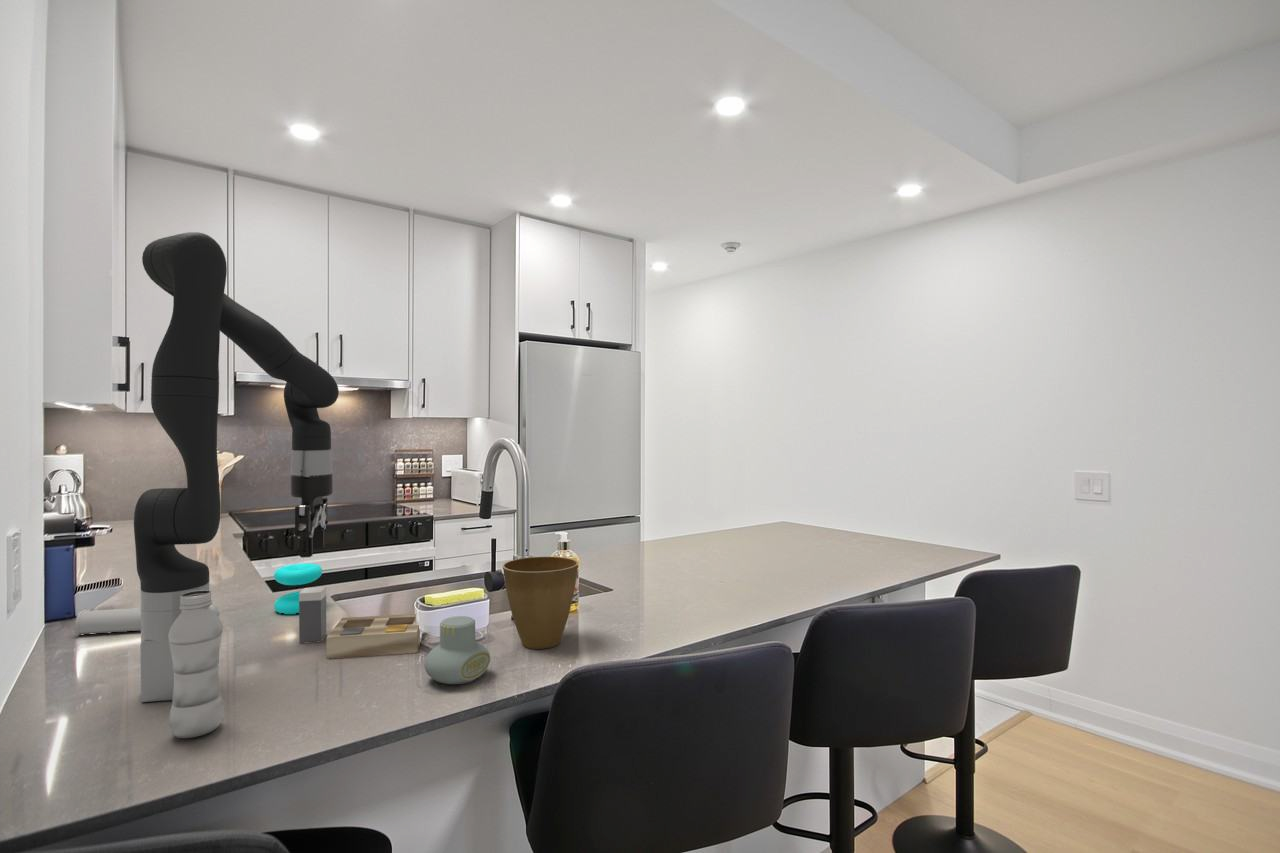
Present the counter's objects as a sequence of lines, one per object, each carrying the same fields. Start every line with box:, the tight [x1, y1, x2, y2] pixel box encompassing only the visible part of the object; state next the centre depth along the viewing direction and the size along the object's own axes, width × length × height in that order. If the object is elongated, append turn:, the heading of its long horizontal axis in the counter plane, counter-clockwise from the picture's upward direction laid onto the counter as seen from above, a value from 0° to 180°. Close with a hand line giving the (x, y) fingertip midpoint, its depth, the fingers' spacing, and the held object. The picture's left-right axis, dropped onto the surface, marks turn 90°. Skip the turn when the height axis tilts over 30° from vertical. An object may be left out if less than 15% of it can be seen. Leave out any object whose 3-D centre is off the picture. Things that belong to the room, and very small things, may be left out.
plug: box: [298, 586, 327, 644], centre depth 132 cm, size 4×4×10 cm
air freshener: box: [424, 615, 491, 685], centre depth 113 cm, size 11×8×10 cm
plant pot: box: [502, 555, 579, 650], centre depth 131 cm, size 15×15×16 cm
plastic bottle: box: [168, 589, 225, 739], centre depth 93 cm, size 6×7×20 cm
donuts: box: [273, 562, 323, 615], centre depth 153 cm, size 10×10×10 cm
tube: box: [74, 603, 220, 636], centre depth 138 cm, size 5×5×25 cm
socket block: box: [326, 613, 421, 660], centre depth 129 cm, size 12×16×4 cm
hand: (312, 552), depth 132 cm, fingers open, 8 cm apart
